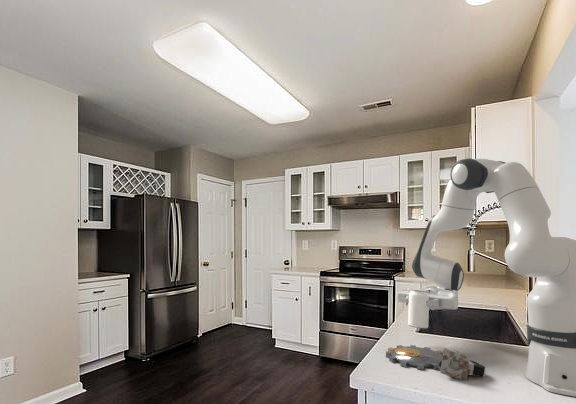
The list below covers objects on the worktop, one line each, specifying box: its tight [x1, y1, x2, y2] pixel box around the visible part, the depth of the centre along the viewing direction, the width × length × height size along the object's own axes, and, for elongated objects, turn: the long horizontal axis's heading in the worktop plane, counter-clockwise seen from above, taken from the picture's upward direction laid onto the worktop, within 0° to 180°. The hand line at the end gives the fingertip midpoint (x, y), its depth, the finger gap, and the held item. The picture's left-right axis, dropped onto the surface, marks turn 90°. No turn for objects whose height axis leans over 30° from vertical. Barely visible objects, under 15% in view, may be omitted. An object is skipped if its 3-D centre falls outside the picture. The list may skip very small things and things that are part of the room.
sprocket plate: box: [385, 344, 444, 371], centre depth 112 cm, size 19×19×1 cm
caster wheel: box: [439, 348, 486, 382], centre depth 99 cm, size 7×11×10 cm
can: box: [407, 289, 430, 330], centre depth 118 cm, size 6×6×12 cm
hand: (417, 302), depth 118 cm, fingers closed on can, 6 cm apart
